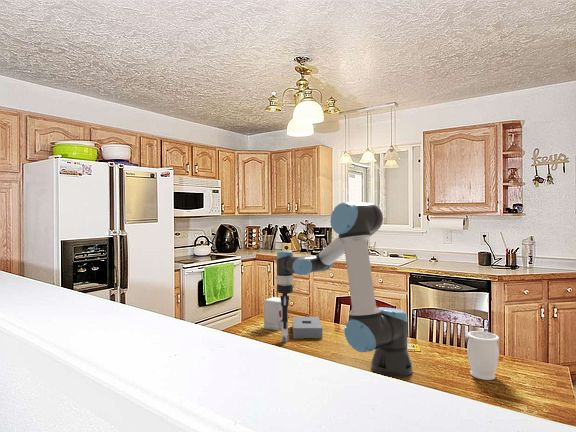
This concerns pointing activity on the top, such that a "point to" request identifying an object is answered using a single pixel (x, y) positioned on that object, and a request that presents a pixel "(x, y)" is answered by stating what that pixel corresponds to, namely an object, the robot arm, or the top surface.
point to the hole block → (306, 327)
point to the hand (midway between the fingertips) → (284, 333)
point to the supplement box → (272, 313)
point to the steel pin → (284, 338)
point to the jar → (482, 354)
